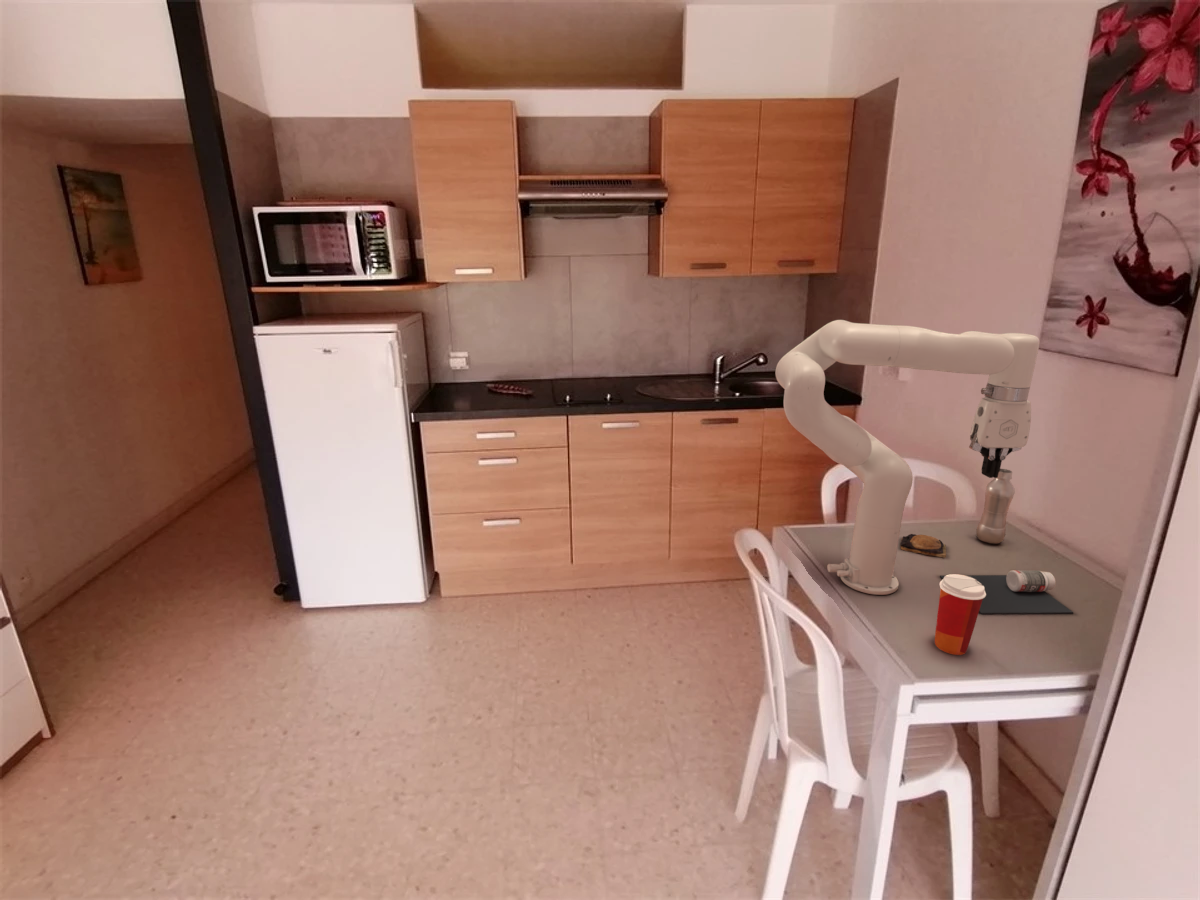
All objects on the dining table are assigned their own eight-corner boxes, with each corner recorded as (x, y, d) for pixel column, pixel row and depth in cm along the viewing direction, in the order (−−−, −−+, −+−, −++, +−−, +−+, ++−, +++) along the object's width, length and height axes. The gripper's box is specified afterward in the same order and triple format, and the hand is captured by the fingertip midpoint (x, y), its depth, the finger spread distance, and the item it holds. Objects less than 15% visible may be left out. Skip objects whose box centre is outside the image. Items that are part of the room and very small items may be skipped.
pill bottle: (1021, 589, 135) (1059, 589, 135) (1016, 568, 137) (1053, 568, 137) (1008, 593, 140) (1045, 593, 140) (1003, 572, 142) (1039, 572, 142)
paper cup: (958, 634, 123) (971, 572, 119) (981, 658, 116) (996, 593, 112) (919, 634, 123) (931, 572, 119) (941, 658, 116) (954, 593, 112)
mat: (980, 614, 130) (981, 612, 130) (939, 576, 146) (939, 575, 145) (1073, 613, 131) (1073, 612, 131) (1022, 576, 146) (1022, 575, 146)
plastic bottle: (968, 537, 166) (983, 468, 160) (988, 534, 168) (1002, 465, 162) (989, 547, 160) (1005, 476, 154) (1009, 544, 162) (1025, 473, 156)
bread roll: (945, 546, 161) (948, 533, 160) (945, 559, 154) (948, 546, 153) (901, 537, 166) (903, 525, 165) (899, 550, 159) (901, 537, 158)
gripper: (982, 397, 124) (965, 481, 130) (1054, 397, 125) (1034, 481, 130) (961, 389, 132) (945, 470, 137) (1029, 389, 132) (1011, 470, 137)
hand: (989, 475), depth 134 cm, fingers closed
